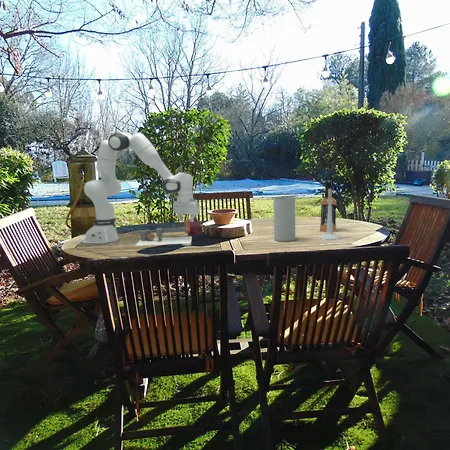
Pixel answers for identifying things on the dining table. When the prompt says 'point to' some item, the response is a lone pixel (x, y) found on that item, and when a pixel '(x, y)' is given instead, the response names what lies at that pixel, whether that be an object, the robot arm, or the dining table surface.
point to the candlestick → (329, 221)
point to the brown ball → (150, 237)
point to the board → (162, 239)
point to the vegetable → (195, 228)
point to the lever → (174, 229)
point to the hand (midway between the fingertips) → (186, 221)
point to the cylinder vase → (284, 219)
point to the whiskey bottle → (325, 210)
